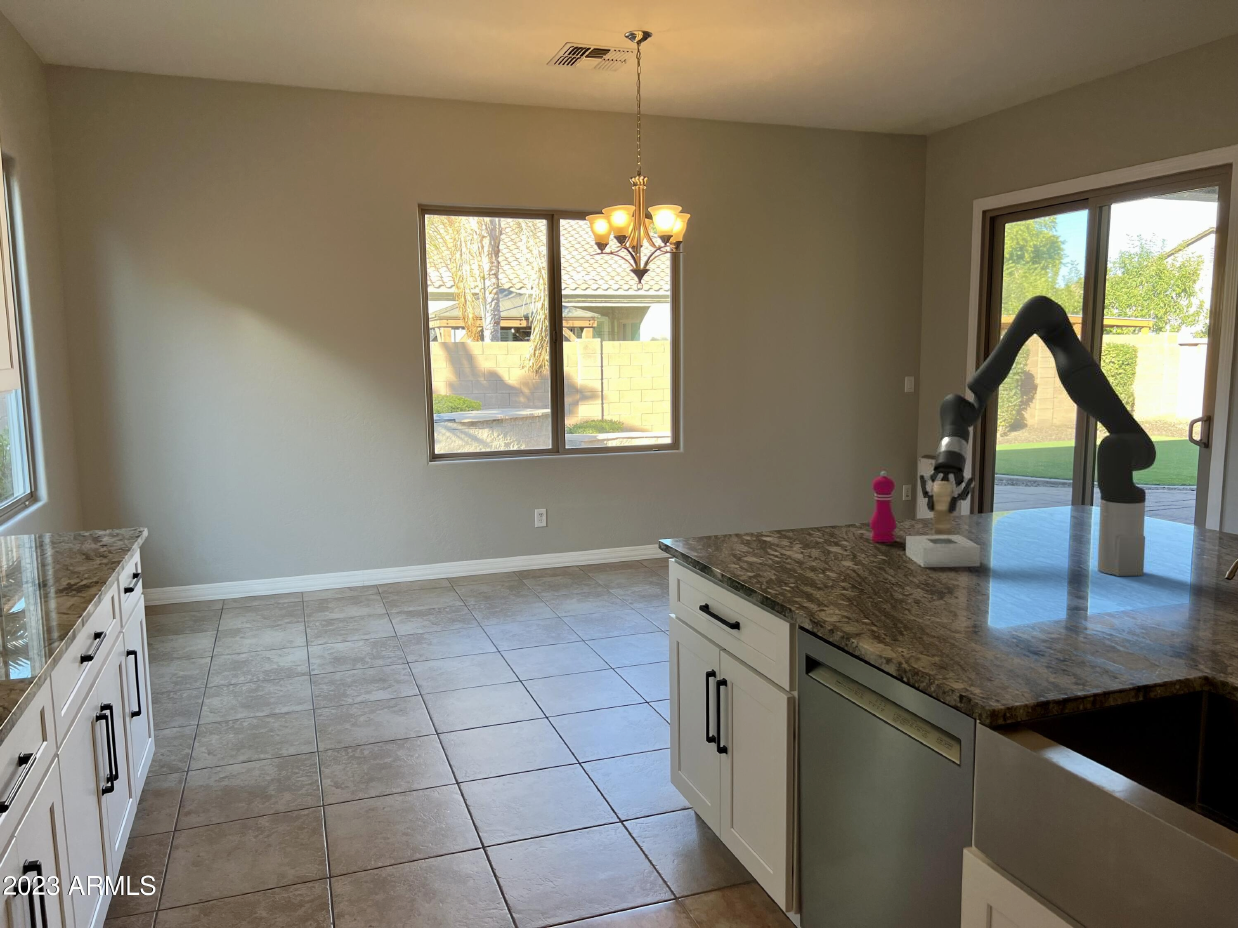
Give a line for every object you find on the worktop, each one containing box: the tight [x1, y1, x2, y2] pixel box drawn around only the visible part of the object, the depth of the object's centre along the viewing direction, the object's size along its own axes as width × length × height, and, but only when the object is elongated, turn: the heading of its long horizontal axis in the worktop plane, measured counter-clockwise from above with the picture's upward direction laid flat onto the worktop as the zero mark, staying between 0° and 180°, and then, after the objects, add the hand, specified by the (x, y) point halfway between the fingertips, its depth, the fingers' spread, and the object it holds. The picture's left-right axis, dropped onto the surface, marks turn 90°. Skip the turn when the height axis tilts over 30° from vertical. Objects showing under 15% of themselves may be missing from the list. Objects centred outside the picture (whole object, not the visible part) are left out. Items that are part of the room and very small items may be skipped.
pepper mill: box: [869, 471, 897, 543], centre depth 245 cm, size 7×7×20 cm
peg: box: [932, 481, 953, 535], centre depth 220 cm, size 4×4×13 cm
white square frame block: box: [905, 534, 981, 568], centre depth 221 cm, size 14×14×5 cm
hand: (940, 510), depth 218 cm, fingers closed on peg, 4 cm apart
